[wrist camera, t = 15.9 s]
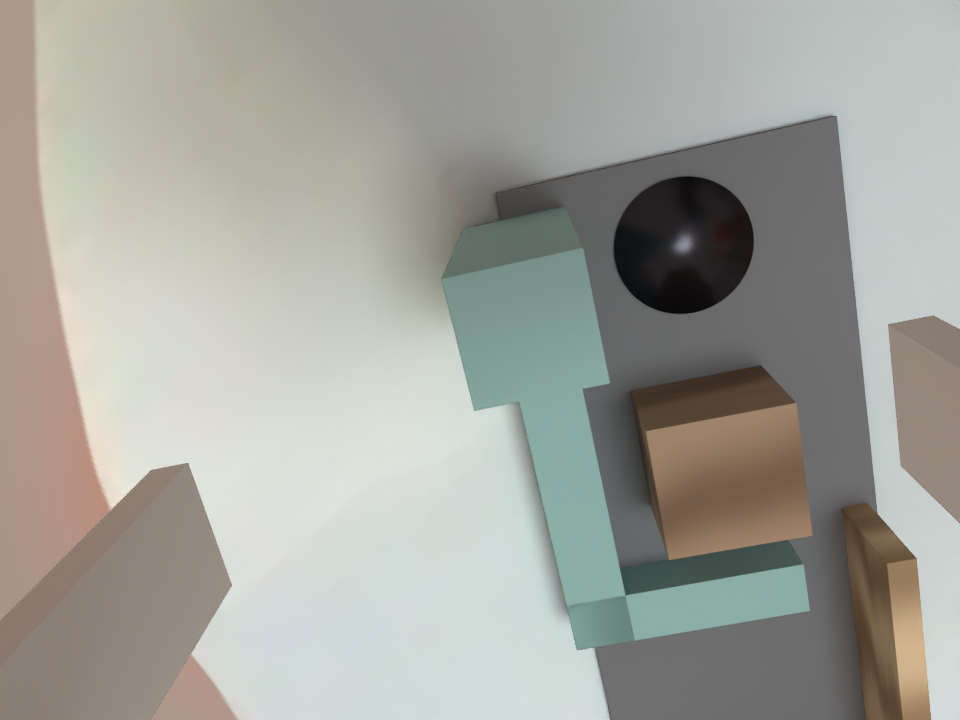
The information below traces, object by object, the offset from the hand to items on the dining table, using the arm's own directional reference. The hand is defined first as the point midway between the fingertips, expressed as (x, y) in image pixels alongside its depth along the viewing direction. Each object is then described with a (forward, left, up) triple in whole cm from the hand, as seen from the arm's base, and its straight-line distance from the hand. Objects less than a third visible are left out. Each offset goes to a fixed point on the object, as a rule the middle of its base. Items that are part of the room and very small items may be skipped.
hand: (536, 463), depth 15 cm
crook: (+9, +4, -22) cm, 24 cm away
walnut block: (+10, +6, -22) cm, 25 cm away
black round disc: (+1, +7, -23) cm, 24 cm away
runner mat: (+14, +7, -23) cm, 28 cm away
